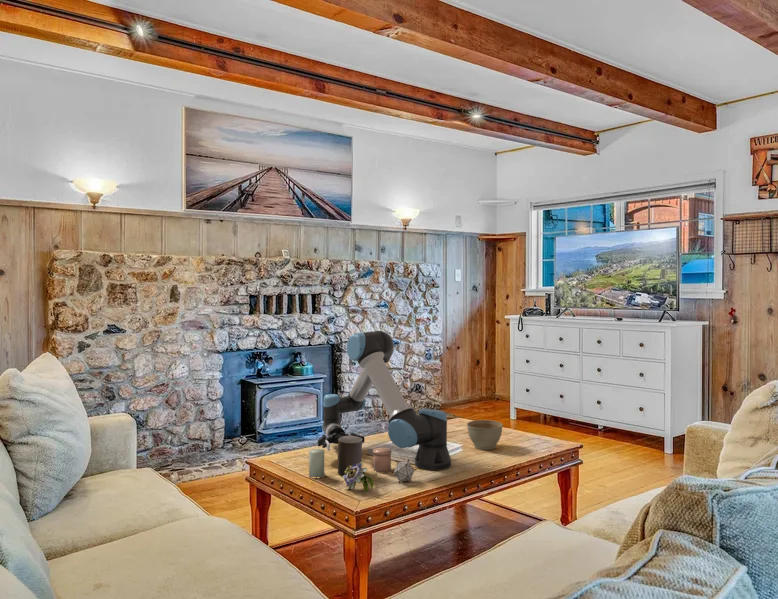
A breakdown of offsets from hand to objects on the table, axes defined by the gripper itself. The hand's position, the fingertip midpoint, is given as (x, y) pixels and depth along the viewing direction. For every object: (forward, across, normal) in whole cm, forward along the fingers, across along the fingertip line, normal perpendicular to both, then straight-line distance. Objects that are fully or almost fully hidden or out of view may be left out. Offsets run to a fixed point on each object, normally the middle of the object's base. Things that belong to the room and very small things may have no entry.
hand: (345, 446), depth 250 cm
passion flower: (+27, 0, -9) cm, 29 cm away
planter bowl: (-9, -67, -9) cm, 68 cm away
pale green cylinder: (+9, +13, -8) cm, 18 cm away
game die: (+25, -18, -9) cm, 32 cm away
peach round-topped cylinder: (+9, -14, -8) cm, 18 cm away
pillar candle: (+9, 0, -8) cm, 12 cm away
